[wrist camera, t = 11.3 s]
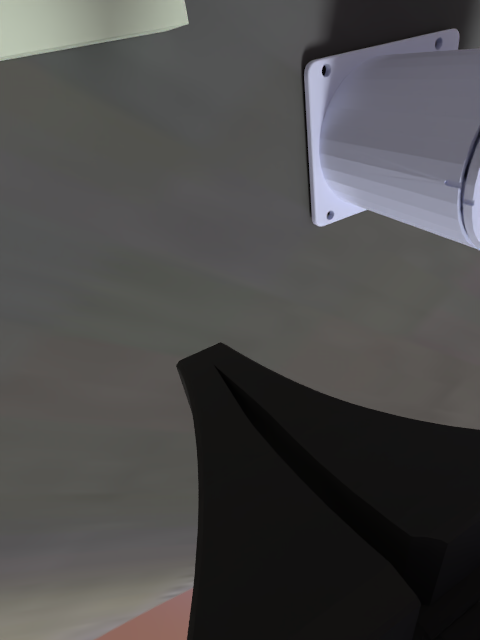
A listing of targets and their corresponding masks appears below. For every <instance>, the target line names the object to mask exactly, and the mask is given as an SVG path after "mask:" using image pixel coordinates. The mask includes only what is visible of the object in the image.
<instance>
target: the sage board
mask: <svg viewBox="0 0 480 640" xmlns="http://www.w3.org/2000/svg"><path fill="white" fill-rule="evenodd" d="M187 24H189V23H188V17H187V12H186V7H185V1H184V0H0V61H3V60H8V59H14V58H19V57H25V56H30V55H36V54H42V53H47V52H53V51H58V50H64V49H69V48H75V47H81V46H86V45H92V44H97V43H103V42H108V41H114V40H119V39H125V38H131V37H136V36H142V35H147V34H153V33H158V32H164V31H168V30H171V29H174V28H177V27H180V26H184V25H187Z"/></svg>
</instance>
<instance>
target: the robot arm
mask: <svg viewBox="0 0 480 640" xmlns="http://www.w3.org/2000/svg"><path fill="white" fill-rule="evenodd" d="M435 42H436V46H435ZM458 46H459V31H458V30H457V29H447V30H443V31H438V32H434V33H429V34H425V35H421V36H416V37H412V38H407V39H403V40H399V41H394V42H390V43H385V44H381V45H377V46H372V47H368V48H363V49H359V50H355V51H350V52H346V53H341V54H337V55H333V56H328V57H324V58H319V59H315V60H312V61H310V62H309V63H308V64H307V65H306V67H305V70H304V82H305V100H306V118H307V136H308V155H309V173H310V191H311V209H312V221H313V223H314V224H315V225H317V226H325V225H327V224H330V223H333V222H335V221H338V220H341V219H343V218H346V217H349V216H351V215H354V214H357V213H359V212H362V211H365V210H370V211H373V212H376V213H379V214H381V215H384V216H387V217H390V218H392V219H395V220H398V221H401V222H404V223H406V224H409V225H412V226H415V227H417V228H420V229H423V230H426V231H429V232H431V233H434V234H437V235H440V236H442V237H445V238H448V239H451V240H454V241H456V242H459V243H462V244H465V245H467V246H470V247H473V248H476V249H479V250H480V48H475V49H461V50H458ZM324 65H325V67H326V73H325V75H324V76H323V75H322V68H323V66H324ZM329 211H330V215H329V216H328V217H327V213H328V212H329ZM176 367H177V370H178V372H179V375H180V378H181V381H182V384H183V387H184V390H185V393H186V396H187V399H188V402H189V405H190V408H191V411H192V414H193V420H194V428H195V436H196V445H197V458H198V481H199V508H198V536H197V550H196V564H195V577H194V587H193V596H192V604H191V612H190V620H189V628H188V636H187V640H480V430H476V429H468V428H461V427H453V426H447V425H441V424H435V423H430V422H425V421H419V420H414V419H409V418H405V417H400V416H396V415H392V414H388V413H384V412H380V411H377V410H373V409H369V408H365V407H362V406H358V405H355V404H352V403H349V402H346V401H343V400H340V399H337V398H334V397H331V396H328V395H326V394H323V393H320V392H318V391H315V390H313V389H311V388H308V387H306V386H304V385H301V384H299V383H297V382H294V381H292V380H290V379H288V378H286V377H284V376H282V375H280V374H278V373H276V372H274V371H272V370H270V369H268V368H266V367H264V366H262V365H260V364H258V363H256V362H255V361H253V360H251V359H249V358H247V357H246V356H244V355H242V354H240V353H239V352H237V351H235V350H234V349H232V348H230V347H228V346H227V345H225V344H223V343H221V342H220V343H218V344H216V345H214V346H211V347H209V348H207V349H205V350H202V351H200V352H198V353H196V354H193V355H191V356H189V357H187V358H185V359H182V360H180V361H179V362H178V364H177V366H176Z"/></svg>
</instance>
